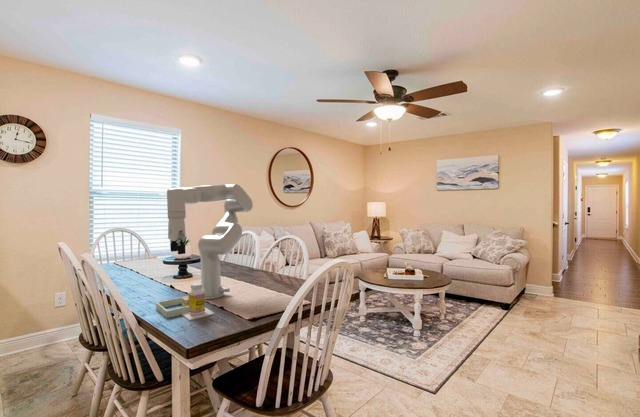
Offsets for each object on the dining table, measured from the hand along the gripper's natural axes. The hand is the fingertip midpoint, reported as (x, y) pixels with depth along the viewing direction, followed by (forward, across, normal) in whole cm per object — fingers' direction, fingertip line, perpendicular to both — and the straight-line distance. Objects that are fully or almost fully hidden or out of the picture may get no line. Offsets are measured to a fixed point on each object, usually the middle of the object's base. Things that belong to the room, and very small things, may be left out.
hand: (177, 252), depth 154 cm
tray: (+26, 0, 0) cm, 26 cm away
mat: (+26, +12, +4) cm, 29 cm away
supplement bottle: (+26, +12, +4) cm, 29 cm away
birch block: (+26, 0, +4) cm, 27 cm away
